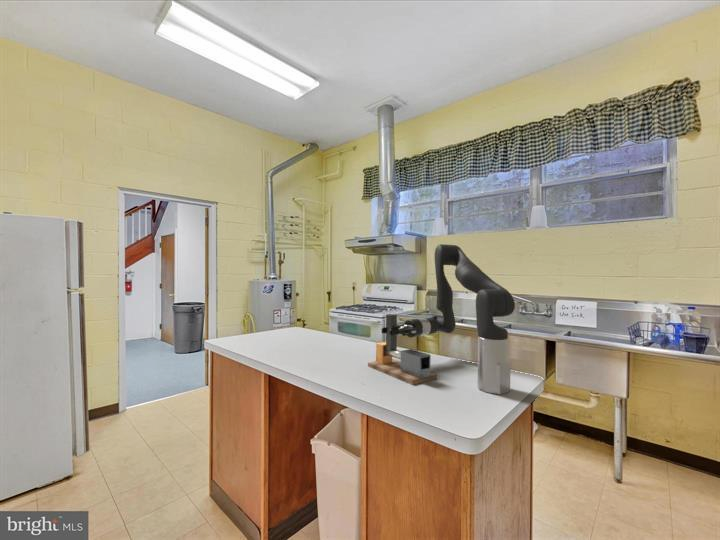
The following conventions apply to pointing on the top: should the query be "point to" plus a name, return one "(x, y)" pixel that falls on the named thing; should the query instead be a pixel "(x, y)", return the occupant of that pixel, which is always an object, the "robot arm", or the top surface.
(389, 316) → the sliding bolt
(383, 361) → the socket block
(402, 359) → the guide sleeve
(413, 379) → the base board
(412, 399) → the top surface
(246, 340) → the top surface
